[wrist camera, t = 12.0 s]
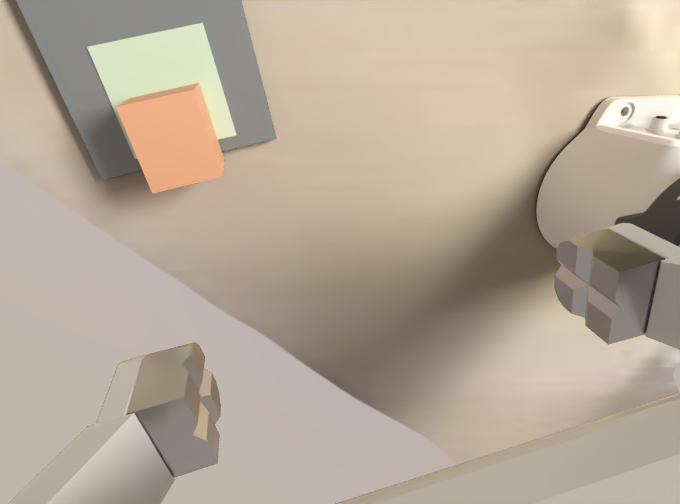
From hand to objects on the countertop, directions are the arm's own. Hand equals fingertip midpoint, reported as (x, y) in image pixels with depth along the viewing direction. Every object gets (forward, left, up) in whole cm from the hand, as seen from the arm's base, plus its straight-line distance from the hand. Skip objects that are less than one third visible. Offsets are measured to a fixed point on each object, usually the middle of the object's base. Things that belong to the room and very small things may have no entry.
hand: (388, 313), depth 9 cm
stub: (+8, 0, -28) cm, 29 cm away
